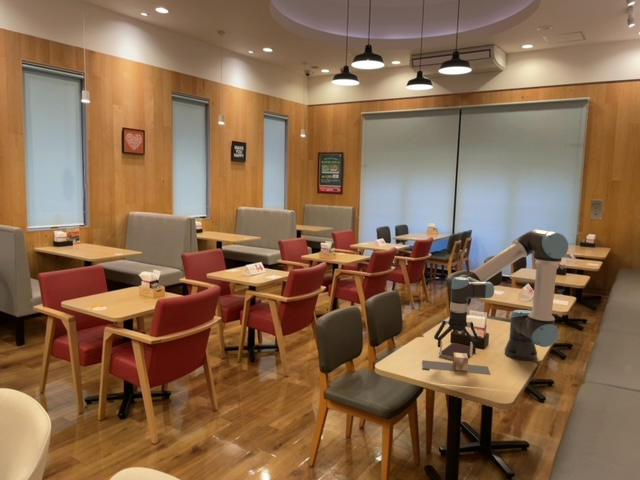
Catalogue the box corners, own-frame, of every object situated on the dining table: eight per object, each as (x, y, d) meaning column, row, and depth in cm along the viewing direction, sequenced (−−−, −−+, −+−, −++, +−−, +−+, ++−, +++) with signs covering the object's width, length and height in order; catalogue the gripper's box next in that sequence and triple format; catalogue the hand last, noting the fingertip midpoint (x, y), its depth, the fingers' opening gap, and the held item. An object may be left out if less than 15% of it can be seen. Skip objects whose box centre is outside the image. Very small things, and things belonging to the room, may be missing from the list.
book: (475, 353, 244) (476, 347, 243) (462, 364, 228) (463, 358, 228) (452, 348, 251) (452, 342, 251) (437, 358, 236) (438, 352, 235)
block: (466, 353, 223) (453, 352, 224) (468, 358, 217) (454, 356, 219) (466, 365, 224) (452, 364, 225) (467, 370, 218) (453, 369, 219)
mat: (487, 367, 224) (487, 366, 224) (490, 375, 214) (490, 374, 214) (422, 361, 230) (422, 360, 230) (422, 369, 220) (422, 368, 220)
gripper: (485, 310, 220) (482, 355, 223) (430, 306, 225) (427, 350, 227) (488, 315, 213) (484, 360, 215) (430, 310, 218) (428, 355, 220)
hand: (455, 355), depth 221 cm, fingers open, 13 cm apart
